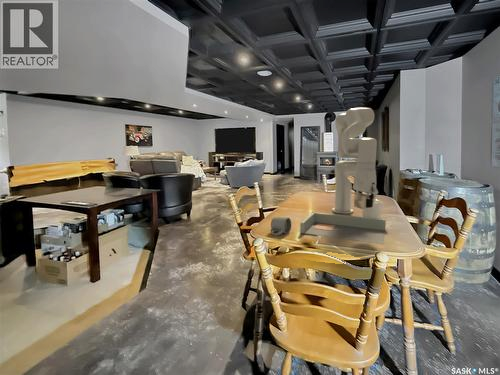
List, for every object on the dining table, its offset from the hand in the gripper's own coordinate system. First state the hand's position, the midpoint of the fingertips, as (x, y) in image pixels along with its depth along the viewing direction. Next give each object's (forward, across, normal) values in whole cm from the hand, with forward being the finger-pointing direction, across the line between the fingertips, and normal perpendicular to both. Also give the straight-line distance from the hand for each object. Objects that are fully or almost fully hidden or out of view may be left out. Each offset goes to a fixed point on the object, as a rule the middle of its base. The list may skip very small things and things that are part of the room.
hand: (363, 205), depth 126 cm
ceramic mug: (+15, -17, -34) cm, 41 cm away
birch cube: (+1, 0, 0) cm, 1 cm away
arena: (+14, -7, -5) cm, 17 cm away
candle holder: (+15, -14, +17) cm, 27 cm away
